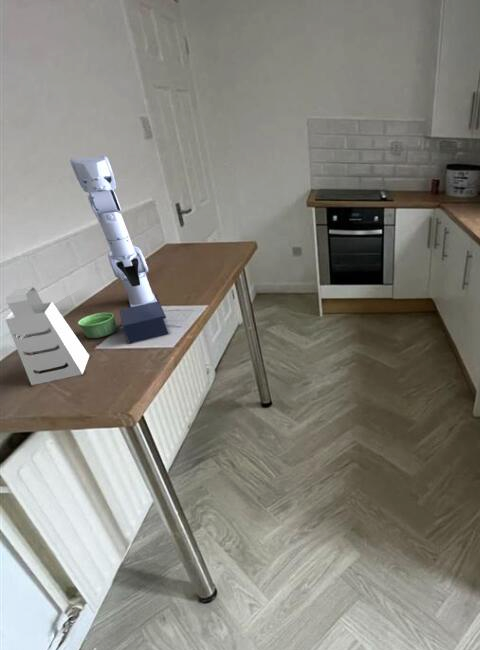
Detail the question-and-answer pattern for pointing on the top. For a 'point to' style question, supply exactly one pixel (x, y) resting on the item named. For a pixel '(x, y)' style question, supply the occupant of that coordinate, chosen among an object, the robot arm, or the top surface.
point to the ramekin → (98, 325)
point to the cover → (141, 314)
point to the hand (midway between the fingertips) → (136, 285)
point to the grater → (43, 338)
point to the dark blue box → (145, 331)
